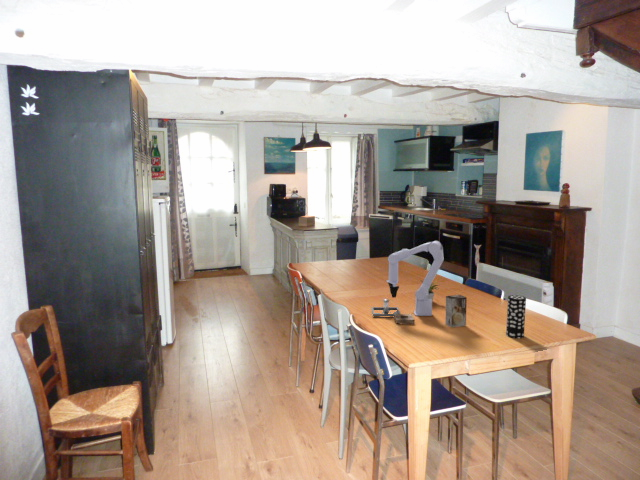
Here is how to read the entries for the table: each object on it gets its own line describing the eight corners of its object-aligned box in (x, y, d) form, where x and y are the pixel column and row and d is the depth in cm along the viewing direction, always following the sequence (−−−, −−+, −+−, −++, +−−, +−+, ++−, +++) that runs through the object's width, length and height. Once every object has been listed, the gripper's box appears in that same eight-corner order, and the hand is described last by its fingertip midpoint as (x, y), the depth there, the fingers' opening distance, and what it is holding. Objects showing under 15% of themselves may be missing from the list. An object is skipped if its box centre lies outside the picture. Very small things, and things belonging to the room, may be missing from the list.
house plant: (422, 305, 288) (422, 280, 286) (412, 300, 302) (412, 275, 299) (442, 303, 292) (443, 278, 290) (431, 298, 305) (432, 274, 303)
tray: (397, 310, 279) (397, 307, 279) (400, 317, 265) (400, 314, 265) (371, 310, 280) (371, 307, 280) (372, 317, 266) (372, 313, 266)
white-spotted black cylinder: (519, 332, 238) (521, 295, 235) (527, 338, 230) (529, 299, 227) (503, 333, 238) (505, 295, 235) (510, 338, 230) (512, 299, 227)
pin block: (411, 318, 263) (411, 314, 263) (414, 324, 253) (414, 319, 253) (394, 318, 263) (394, 314, 263) (396, 324, 254) (396, 319, 253)
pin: (389, 312, 274) (389, 299, 272) (389, 314, 270) (389, 300, 269) (382, 312, 274) (382, 298, 273) (382, 313, 270) (382, 300, 269)
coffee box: (459, 322, 255) (460, 294, 253) (466, 326, 249) (467, 297, 247) (444, 324, 253) (445, 295, 251) (451, 327, 247) (452, 298, 245)
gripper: (385, 271, 282) (385, 292, 284) (388, 276, 268) (387, 298, 270) (397, 271, 282) (396, 292, 284) (400, 276, 268) (399, 298, 270)
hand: (393, 295), depth 277 cm, fingers open, 7 cm apart
